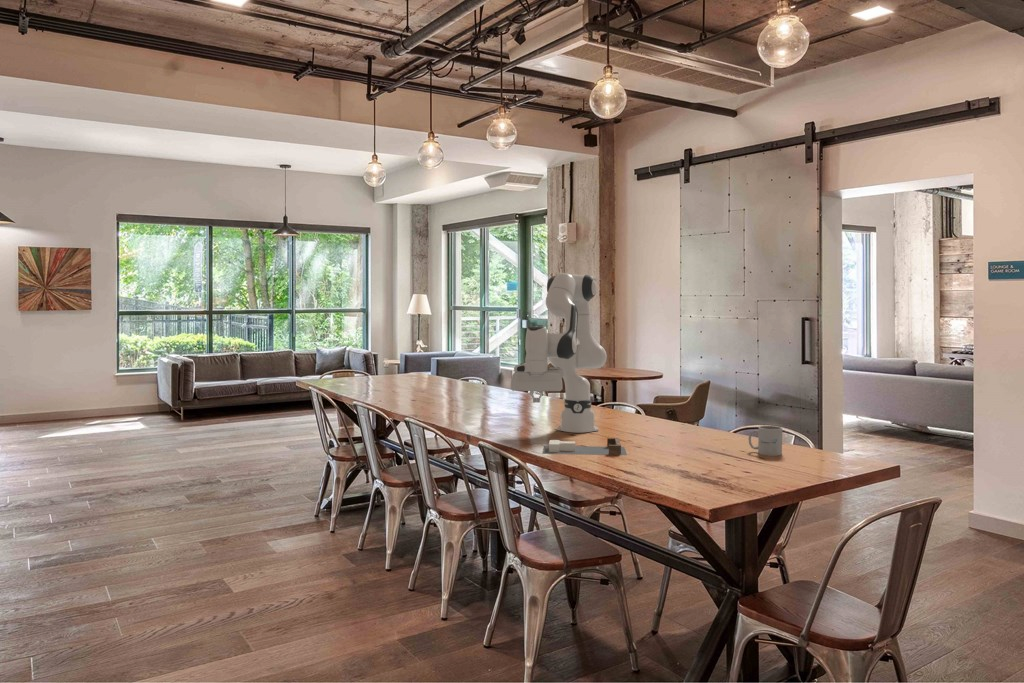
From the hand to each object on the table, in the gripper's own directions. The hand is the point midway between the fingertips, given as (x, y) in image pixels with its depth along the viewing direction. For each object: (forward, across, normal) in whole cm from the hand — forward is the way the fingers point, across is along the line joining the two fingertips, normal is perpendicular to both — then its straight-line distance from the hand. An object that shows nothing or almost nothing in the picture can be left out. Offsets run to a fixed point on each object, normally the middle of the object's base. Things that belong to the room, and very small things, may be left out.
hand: (536, 402), depth 292 cm
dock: (+19, -30, 0) cm, 35 cm away
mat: (+19, -18, 0) cm, 27 cm away
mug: (+19, -88, -3) cm, 90 cm away
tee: (+18, -10, 0) cm, 21 cm away
